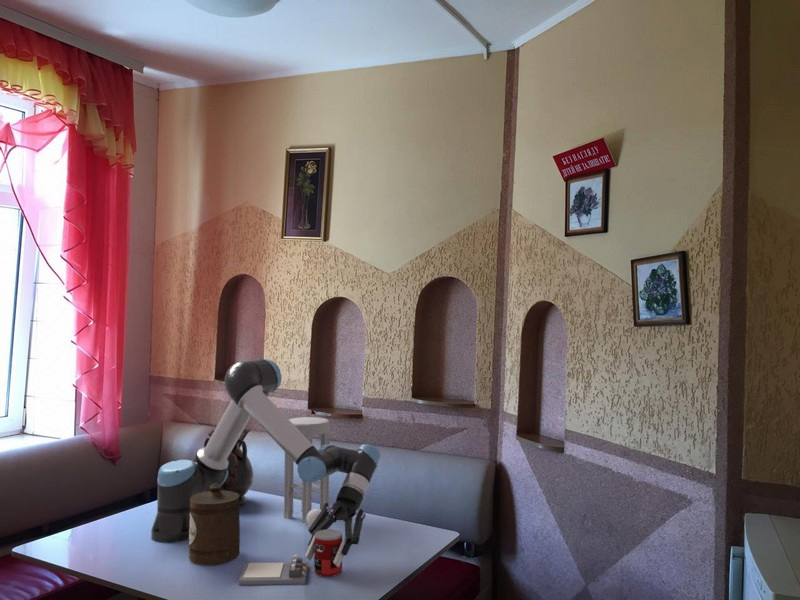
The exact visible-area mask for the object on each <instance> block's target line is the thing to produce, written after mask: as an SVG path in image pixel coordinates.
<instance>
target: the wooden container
mask: <svg viewBox="0 0 800 600" xmlns="http://www.w3.org/2000/svg"><path fill="white" fill-rule="evenodd" d="M220 489H221V486H220V485H219V484H218V483H214V484H212V485H211V486H210V490H211V491H207V492H202V493H198V494H195V495H193V496H192V497H191V498H190V527H189V539H188V547H189V548H188V550H189V551H188V559H189V561H190V562H192V563H193V564H196V565H200V566H216V565H217V566H218V565H223V564H226V563H229V562H233V561H235V560H236V559H238V557H239V556H240V550H241V549H240V546H241V545H240V544H241V543H240V541H241V540H240V538H241V535H240V534H241V532H240V531H241V527H240V523H241V522H240V521H241V520H240V507H239V502H240V499H239V494H238V493H236V492H232V491H220Z"/></svg>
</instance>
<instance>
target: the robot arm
mask: <svg viewBox="0 0 800 600" xmlns="http://www.w3.org/2000/svg"><path fill="white" fill-rule="evenodd" d="M282 378H283V377H282V373H281V369H280V367H279V366H278V365H277V363H276V362H274V361H273V360H271V359H268V358H265V359H264V358H258V359H253V360H252V359H251V360H243V361H238V362H235V363H234V364H233V365H231V366H230V367H229V368H228V369H227V371H226V373H225V376H224V386H225V390H226V393H227V394H228V396H229V397H230V399H231V401H230V402H229V404H228V406H227V407H226V410H225V411H224V412H223V415H222V416H221V419H220V420H219V421H218V424H217V426H216V427H215V429H214V430H215V431H214V433H213V434H212V436H211V438H210V440H209V442H208V443H207V445H206V447H205V448H204V447H201V448H199V450H198V451H197V453H196V454H195V456H194V458H193V459H192V460H189V459H178V460H172V461H169V462H167V463H165V464H162V465H161V466H160V468H159V469H158V472H157V481H156V482H157V499H156V500H157V506H156V507H157V509H156V511H157V512H156V515H155V519H154V521H153V524H152V526H151V527H152V528H151V531H150V532H151V533H150V535H151V536H150V537H151V539H153V540H154V539H155V541H157V540H158V541H159V542H163V541H166V542H167V543H171V542H172V543H174V542H180V541H181V542H182V541H185V540H189V527H190V498H191V497H192V496H193V495H195V494H198V493H202V492H207V491H211V490H210V486H211V485H212V484H214V483H218V484H219V485H220V486H221V485H222V484H223V483H224V482H225V481H226V479H227V476H228V470H227V468H228V464H229V462H228V459H227V458H228V456H229V455H230V453H231V451H232V449H233V447H234V446H235V444H236V442H237V441H238V440H240V437H241V436H242V435H241V433H243V432H244V430H245V428H246V426H247V425H248V423H249V421H250V419H251V417H252V418H253V419H254V420H255V421H256V423H258V425H259V426H261V428H262V429H263V430H264V431H265V432H266V433H267V434H268V435H269V436H270V437H271V438H272V439H273V441H274V442H275V443H276V444H277V445H278V446H279V447H280V448H281V450H283V452H284V453H285V452H286V453H287V454H288V456H289V457H290V458H291V459H292V460H293V461H294V463H295V464H296V465H297V471H296V472H297V475H298V477H299V478H300V480H301V481H302V480H303V481H305V482H307V483H312V482H315V481H320V480H321V479H323V478H324V477H326V476H328V475H329V476H331V475H333V474H335V473H337V472H339V473H343V474H346V476H345V477H344V479H343V483H342V485H341V487H340V489H339V491H338V493H337V495H336V500H335V502H334V503H333V504H330V503H329V504H328V503H325V504H324V506H323V509H322V511H321V512H320V513H319V515H318V516H317V518H316V519H315V521H314V522H313V523H312V525H311V526H310V528H309V527H308V530H307V531H308V532H309V533H310V536H311V535H312V536H311V537H310V538H309V539H310V540H309V541H308V542H307V543H308V544H307V546H308V548H307V551H306V553H305V555H304V556H305V557H306V559H307V560H308V561H312V559H313V557H314V546H315V533H316V532H317V531H320V530H325V529H329V528H330V527H331V526H332V525H333V524H334V523H336V522H338V521H342V522H344V537H345V538H344V540H342V543H341V545H340V547H339V550H338V552H337V554H336V557H335V559H334V561H333V563H334V564H335V565H336V566H337V567H339V566H340V564H341V562H342V563H343V559H344V556H347V554H348V553H349V551H350V548H351V546H352V545H359V542H360V537H361V532H362V526H363V521H364V519H365V518H366V513H365V511H364V510H363V509H362V508H361V509H359V508H360V507H361V504H362V502H363V499H364V497H365V494H366V493H367V490H368V488H369V485H370V483H371V480H372V479H373V475H374V473H375V472H376V469H377V468H378V464H379V461H380V458H381V453H380V450H379V449H377V448H376V447H375V446H374V445H372V444H368V443H365V444H360V445H359V447H358V448H357V449H350V448H346V447H341V446H336V445H335V444H329V445H323V446H321V445H320V448H319V449H318V448H316V447H315V446H314V444H313V443H312V444H311V443H310V441H309V440H308V439H307V438H306V437H305V436H304V435H303V434H302V433H301V432H300V431H299V430H298V429H297V428H296V427H295V426H294V425H293V423H292V422H291V421H290V420H289V419H290V418H288V417H287V416H286V415H285V413H283V412H282V411H281V409H280V408H278V407H277V406H276V404H275V403H274V402H273V401H272V400H271V399H270V398H269V394H270V393H275V391H276V390H278V389H279V387H280V386H281V383H282ZM240 435H241V436H240ZM312 484H313V483H312ZM354 517H355V519H354V520H355V521H354V526H353V518H354ZM158 541H157V542H158Z"/></svg>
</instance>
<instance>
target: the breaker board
mask: <svg viewBox="0 0 800 600" xmlns="http://www.w3.org/2000/svg"><path fill="white" fill-rule="evenodd" d="M308 568H309V562H307V561H303V557H298V554H293V558H291V562H251V563H250V562H246V563H245V565H244V567H243V570H242V572H241V575H240V576H239V579H238V585H240V586H242V585H244V586H245V585H249V586H251V585H297V584H298V585H299V584H300V585H301V584H303V585H305V584H306V581H305V580H306V579H307V574H308V570H309V569H308ZM307 569H308V570H307Z"/></svg>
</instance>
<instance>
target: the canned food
mask: <svg viewBox="0 0 800 600" xmlns="http://www.w3.org/2000/svg"><path fill="white" fill-rule="evenodd" d="M342 541H343V533H342V531H340V530H338V529H334V528H333V529H332V528H331V529H329V528H328V529H325V530H320V531H317V532H316V533H315V546H314V555H313V557H314V559H313V560H314V562H313V565H314V567H313V569H314V573H315V574H316V575H317V574H318V576H319V575H321V576H320V577H324V576H331V577H335V576H334V575H336V576H338V575H340V574H341V572H342V569H343V561H342V562H341V564H340V566H339V567H337V566H336V565H335V564H334V563H333V561H334V559H335V557H336V554H337V552H338V550H339V547H340V545H341V543H342ZM339 573H340V574H339Z"/></svg>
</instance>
